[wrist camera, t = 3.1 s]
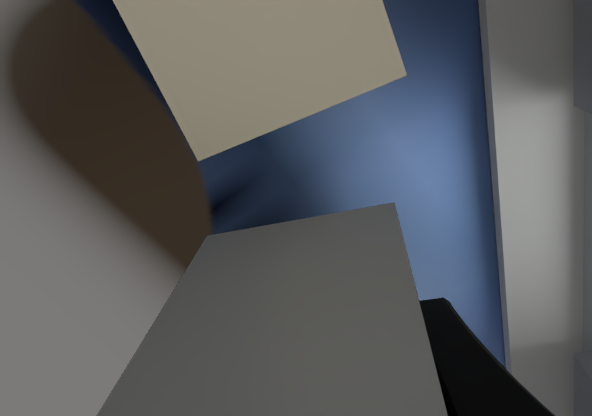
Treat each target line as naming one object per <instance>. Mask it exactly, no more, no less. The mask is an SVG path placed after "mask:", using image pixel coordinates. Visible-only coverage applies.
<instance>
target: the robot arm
mask: <svg viewBox="0 0 592 416" xmlns="http://www.w3.org/2000/svg"><path fill="white" fill-rule="evenodd" d="M419 303H420V307H421V311H422V315H423V319H424V323H425V327H426V331H427V335H428V339H429V343H430V347H431V351H432V355H433V359H434V363H435V367H436V371H437V375H438V379H439V383H440V387H441V391H442V395H443V399H444V403H445V407H446V411H447V415H448V416H555V415H554V414H553V413H552V412H551V411H549V410H548V409H547V408H546V407H545V406H544V405H543V404H542V403H541V402H540V401H538V400H537V399H536V398H535V397H534V396H533V395H532V394H531V393H530V392H529V391H528V390H527V389H526V388H525V387H524V386H522V385H521V384H520V383H519V382H518V381H517V380H516V379H515V378H514V377H513V376H512V375H511V374H510V373H509V372H508V371H507V370H506V369H505V368H504V366H503V365H502V364H501V363H500V362H499V361H498V360H497V359H496V358H495V357H494V356H493V355H492V354H491V353H490V352H489V351H488V350H487V348H486V347H485V346H484V345H483V344H482V343H481V342H480V341H479V339H478V338H477V337H476V336H475V335H474V334H473V332H472V331H471V330H470V329H469V328H468V326H467V325H466V324H465V323H464V321H463V320H462V319H461V318H460V316H459V315H458V314H457V312H456V311H455V309H454V308H453V307H452V305H451V303H450V302H449V301H448V300H446V299H445V298H438V299H430V300H423V301H419Z"/></svg>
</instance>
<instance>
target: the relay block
mask: <svg viewBox="0 0 592 416" xmlns="http://www.w3.org/2000/svg"><path fill="white" fill-rule="evenodd" d="M113 2H114V4H115V6H116V8H117V9H118V11H119V13H120V15H121V17H122V19H123V21H124V23H125V24H126V26H127V28H128V30H129V32H130V34H131V36H132V38H133V40H134V41H135V43H136V45H137V47H138V49H139V51H140V53H141V55H142V56H143V58H144V60H145V62H146V64H147V66H148V68H149V70H150V72H151V73H152V75H153V77H154V79H155V81H156V83H157V85H158V87H159V88H160V90H161V92H162V94H163V96H164V98H165V100H166V102H167V104H168V105H169V107H170V109H171V111H172V113H173V115H174V117H175V119H176V120H177V122H178V124H179V126H180V128H181V130H182V132H183V134H184V136H185V137H186V139H187V141H188V143H189V145H190V147H191V149H192V151H193V152H194V154H195V156H196V158H197V160H198V161H200V160H203V159H205V158H208V157H210V156H212V155H215V154H217V153H220V152H222V151H225V150H227V149H229V148H232V147H234V146H237V145H239V144H242V143H244V142H246V141H249V140H251V139H254V138H256V137H259V136H261V135H263V134H266V133H268V132H271V131H273V130H276V129H278V128H280V127H283V126H285V125H288V124H290V123H293V122H295V121H298V120H300V119H302V118H305V117H307V116H310V115H312V114H315V113H317V112H319V111H322V110H324V109H327V108H329V107H332V106H334V105H336V104H339V103H341V102H344V101H346V100H349V99H351V98H353V97H356V96H358V95H361V94H363V93H366V92H368V91H370V90H373V89H375V88H378V87H380V86H383V85H385V84H387V83H390V82H392V81H395V80H397V79H400V78H402V77H404V76H407V74H406V71H405V67H404V64H403V61H402V58H401V55H400V52H399V49H398V46H397V43H396V40H395V37H394V34H393V31H392V28H391V25H390V22H389V19H388V16H387V13H386V10H385V7H384V4H383V1H382V0H113Z"/></svg>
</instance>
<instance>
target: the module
mask: <svg viewBox="0 0 592 416" xmlns="http://www.w3.org/2000/svg"><path fill="white" fill-rule="evenodd" d="M97 416H448V415H447V411H446V407H445V403H444V399H443V395H442V391H441V387H440V383H439V379H438V375H437V371H436V367H435V363H434V359H433V355H432V351H431V347H430V343H429V339H428V335H427V331H426V327H425V323H424V319H423V315H422V311H421V307H420V303H419V299H418V295H417V291H416V287H415V283H414V279H413V275H412V271H411V267H410V263H409V259H408V255H407V251H406V247H405V243H404V239H403V235H402V231H401V227H400V223H399V219H398V215H397V211H396V207H395V203H388V204H383V205H377V206H371V207H366V208H360V209H354V210H349V211H343V212H338V213H332V214H326V215H321V216H315V217H310V218H304V219H298V220H293V221H287V222H281V223H276V224H270V225H265V226H259V227H253V228H248V229H242V230H237V231H231V232H225V233H220V234H214V235H208V236H207V237H206V238H205V240H204V242H203V243H202V245H201V246H200V248H199V250H198V251H197V253H196V254H195V256H194V258H193V260H192V261H191V263H190V264H189V266H188V268H187V269H186V271H185V272H184V274H183V276H182V278H181V279H180V281H179V282H178V284H177V285H176V287H175V289H174V290H173V292H172V294H171V295H170V297H169V299H168V300H167V302H166V304H165V305H164V307H163V308H162V310H161V312H160V313H159V315H158V316H157V318H156V320H155V321H154V323H153V325H152V327H151V328H150V330H149V331H148V333H147V334H146V336H145V338H144V340H143V341H142V343H141V344H140V346H139V348H138V349H137V351H136V353H135V354H134V356H133V357H132V359H131V361H130V362H129V364H128V366H127V367H126V369H125V370H124V372H123V374H122V375H121V377H120V379H119V380H118V382H117V384H116V385H115V387H114V388H113V390H112V392H111V393H110V395H109V397H108V398H107V400H106V401H105V403H104V405H103V406H102V408H101V410H100V411H99V413H98V414H97Z"/></svg>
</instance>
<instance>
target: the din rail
mask: <svg viewBox="0 0 592 416" xmlns="http://www.w3.org/2000/svg"><path fill="white" fill-rule="evenodd" d="M478 5H479V18H480V31H481V45H482V58H483V71H484V84H485V97H486V111H487V124H488V137H489V150H490V164H491V177H492V190H493V203H494V217H495V230H496V243H497V256H498V269H499V283H500V296H501V309H502V322H503V336H504V349H505V362H506V370H507V371H508V372H509V373H510V374H511V375H512V376H513V377H514V378H515V379H516V380H517V381H518V382H519V383H520V384H521V385H522V386H524V387H525V388H526V389H527V390H528V391H529V392H530V393H531V394H532V395H533V396H534V397H535V398H536V399H537V400H538V401H540V402H541V403H542V404H543V405H544V406H545V407H546V408H547V409H548V410H549V411H551V412H552V413H553V414H554V415H555V416H592V0H478Z"/></svg>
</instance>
